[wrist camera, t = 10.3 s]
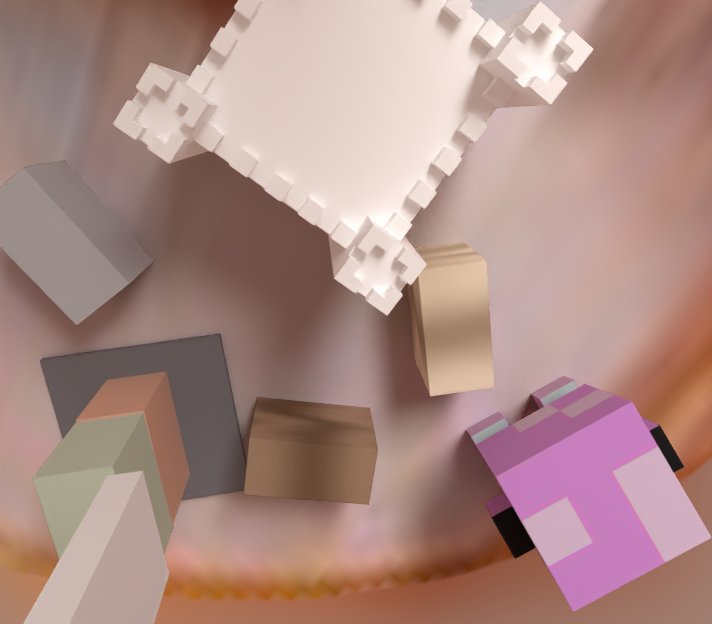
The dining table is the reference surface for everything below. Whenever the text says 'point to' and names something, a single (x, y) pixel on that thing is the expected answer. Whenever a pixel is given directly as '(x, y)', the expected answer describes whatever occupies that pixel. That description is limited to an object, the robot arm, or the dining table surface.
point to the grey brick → (67, 239)
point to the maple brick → (452, 320)
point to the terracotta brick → (148, 424)
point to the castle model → (353, 111)
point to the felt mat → (190, 397)
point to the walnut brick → (311, 451)
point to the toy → (587, 489)
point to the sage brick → (97, 473)
